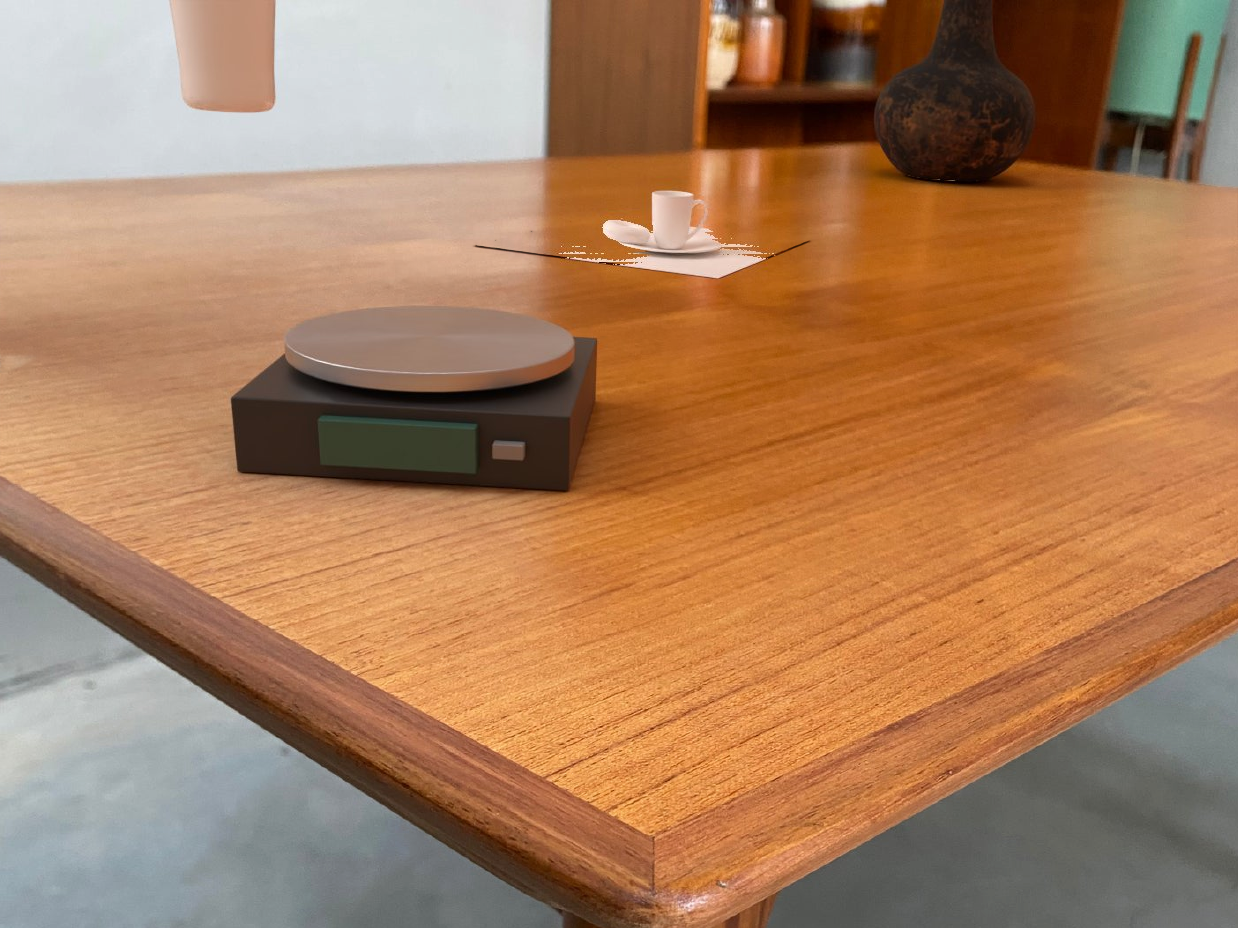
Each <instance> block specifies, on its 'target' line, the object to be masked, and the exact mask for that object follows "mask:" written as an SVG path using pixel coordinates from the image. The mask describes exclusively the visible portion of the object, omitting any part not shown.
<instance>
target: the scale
mask: <svg viewBox="0 0 1238 928" xmlns="http://www.w3.org/2000/svg"><path fill="white" fill-rule="evenodd" d="M573 339H574V341H575V349H574V361H573V363H572V364H571V366H570V367H569V368H568V369H566V370H565V371H564V372H562V373H560V374H558V375H556V376H553V377H551V378H548V379H545V380H542V381H538V382H535V383H531V384H526V385H521V386H516V387H510V388H504V389H496V390H487V391H475V392H457V393H412V392H394V391H381V390H373V389H364V388H358V387H352V386H346V385H341V384H336V383H332V382H328V381H324V380H321V379H317V378H314V377H312V376H309V375H306V374H304V373H302V372H300V371H298V370H296V369H295V368H293V367H292V366H291V365H290V364H289V363H288V361H287V360H286V357H285V352H284V353H283V354H282V355H281V356H279V357H278V358H277V359H276V360H275V361H274V362H272V363H271V364H270V365H268V366H267V367H266V368H265V369H263V370H262V371H261V372H260V373H259V374H257V375H256V376H255V377H254V378H253V379H252V380H250V381H249V382H248V383H246V384H245V385H244V386H243V387H241V388H240V389H239V390H238V391H237V392H236V393H234V394H233V395H232V396H231V397H230V405H231V417H232V429H233V439H234V440H233V441H234V449H235V459H236V460H235V461H236V470H237V472H239V473H252V474H253V473H254V474H255V473H256V474H271V475H272V474H273V475H286V476H287V475H288V476H289V475H290V476H305V477H306V476H308V477H323V478H324V477H325V478H343V479H359V480H375V481H389V482H391V481H392V482H408V483H409V482H410V483H425V484H441V485H442V484H444V485H461V486H475V487H492V488H493V487H494V488H495V487H496V488H511V489H529V490H542V491H543V490H545V491H561V492H568V491H569V489H570V487H571V484H572V479H573V477H574V473H575V470H576V466H577V463H578V460H579V456H580V453H581V449H582V446H583V442H584V440H585V436H586V432H587V429H588V426H589V424H590V419H591V415H592V412H593V409H594V406H595V402H596V399H597V398H596V396H597V367H598V366H597V365H598V338H596V337H587V336H586V337H584V336H583V337H582V336H573Z"/></svg>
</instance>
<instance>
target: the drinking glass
mask: <svg viewBox="0 0 1238 928" xmlns="http://www.w3.org/2000/svg"><path fill="white" fill-rule="evenodd" d="M168 1H169V7H170V13H171V14H170V15H171V20H172V26H173V33H174V39H175V45H176V51H177V52H176V53H177V59H178V67H179V76H180V77H179V78H180V88H181V96H182V100H183V102H184V104H185V105H186V106H187V107H189V108H191V109H195V110H199V111H208V112H217V113H218V112H219V113H239V114H241V113H245V114H246V113H248V114H250V113H252V114H253V113H265V112H269V111H271V110H273V108H274V106H275V104H276V98H277V97H276V78H275V76H276V75H275V51H276V50H275V49H276V48H275V43H276V42H275V41H276V38H275V37H276V6H277V5H276V4H277V3H276V2H277V1H276V0H168Z"/></svg>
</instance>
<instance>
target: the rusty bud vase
mask: <svg viewBox="0 0 1238 928" xmlns="http://www.w3.org/2000/svg"><path fill="white" fill-rule="evenodd" d="M993 24H994V23H993V0H943V3H942V9H941V14H940V18H939V22H938V27H937V30H936V34H935V37H934V41H933V43H932V46H931V48H930V50H929V52H928V53H927V55H926V56H925V57H924V58H923V59H922V60H921V61H920V62H918V63H916V64H914V65H912V66H909V67H906V68H904V69H903V70H901V71H899V72H898V73H896V74H895V75H894V76H893V77H892V78H891V79H890V80H889V81H887V83H886V84H885V85H884V87H883V88H882V90H881V91H880V93H879V95H878V98H877V100H876V103H875V107H874V112H873V113H874V115H873V124H874V131H875V135H876V137H877V141H878V143H879V144H878V145H880V148H881V150H882V152H883V153H884V155H885V157H886V158H887V160H888V161H889V162H890V164H891V165H892V166H893V167H894V168H895V169H896V170H898V172H900V173H901V174H904V175H905V174H906V175H905V176H907V175H910V176H914V177H919V178H918V179H920V178H927V179H926V180H928V179H940V180H955V181H975V182H977V181H976V180H983V181H986V179H987V180H989V179H990V180H991V179H993V178H995V177H997V176H999V175H1001V174H1002V173H1004V172H1006V171H1007V170H1008V169H1009V168H1010V167H1012V166H1013V165H1014V164H1015V162H1016V161H1018V159H1019V158H1020V157H1021V155H1022V154H1024V152H1025V150H1026V148H1027V146H1028V145H1029V142H1030V140H1031V138H1032V134H1033V132H1034V128H1035V123H1036V107H1035V103H1034V99H1033V95H1032V94H1031V91H1030V90H1029V88H1028V87H1027V85H1026V84H1025V82H1024V81H1023V80H1022V79H1020V78H1019V77H1018V76H1017V75H1016V74H1014V73H1013V72H1012V71H1010V70H1009V69H1007V68H1006V66H1004V65H1003V64H1002V62H1001V61H1000V59H999V57H998V55H997V51H996V45H995V37H994V25H993ZM910 176H909V177H910ZM914 177H913V178H914Z"/></svg>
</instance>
